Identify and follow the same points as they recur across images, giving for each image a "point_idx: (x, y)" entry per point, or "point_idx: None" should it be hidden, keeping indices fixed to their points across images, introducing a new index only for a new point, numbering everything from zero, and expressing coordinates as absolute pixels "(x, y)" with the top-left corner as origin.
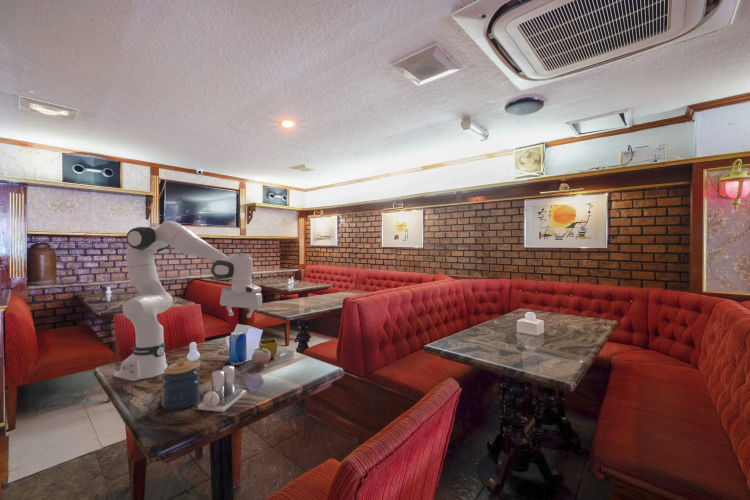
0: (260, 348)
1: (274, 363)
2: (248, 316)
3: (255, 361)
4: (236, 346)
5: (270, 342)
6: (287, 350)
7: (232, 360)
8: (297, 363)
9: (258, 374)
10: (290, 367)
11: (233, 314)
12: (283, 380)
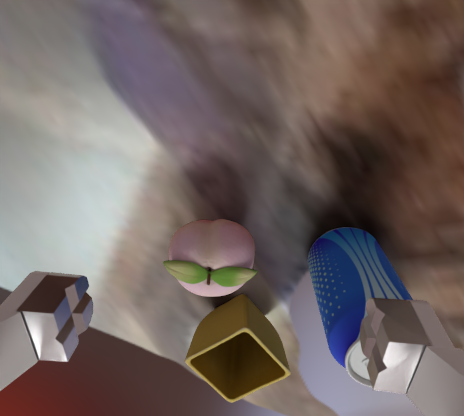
0: (272, 334)
1: None
2: (38, 280)
3: (226, 220)
4: (353, 276)
5: (245, 378)
6: None
7: (355, 232)
8: (86, 272)
9: (178, 151)
10: (89, 234)
11: (361, 346)
12: (32, 109)
